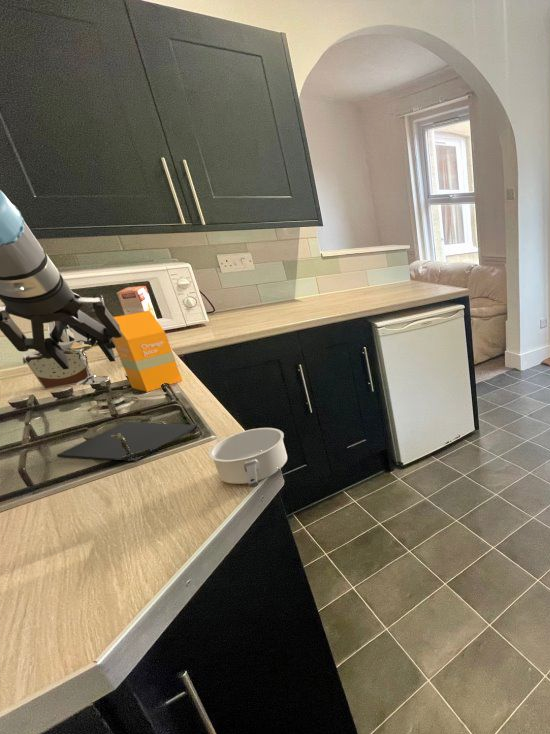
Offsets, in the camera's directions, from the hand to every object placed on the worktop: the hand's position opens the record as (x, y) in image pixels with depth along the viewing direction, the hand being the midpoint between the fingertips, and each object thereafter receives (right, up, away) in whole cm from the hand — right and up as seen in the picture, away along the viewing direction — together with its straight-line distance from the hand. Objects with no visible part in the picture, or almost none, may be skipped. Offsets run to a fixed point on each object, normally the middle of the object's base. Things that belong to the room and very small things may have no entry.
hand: (88, 359), depth 80 cm
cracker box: (-51, +9, +73) cm, 90 cm away
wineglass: (+2, -4, -1) cm, 5 cm away
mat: (+1, -17, +7) cm, 18 cm away
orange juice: (-19, -5, +38) cm, 42 cm away
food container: (-47, -4, +41) cm, 62 cm away
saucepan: (+36, -22, -7) cm, 43 cm away
